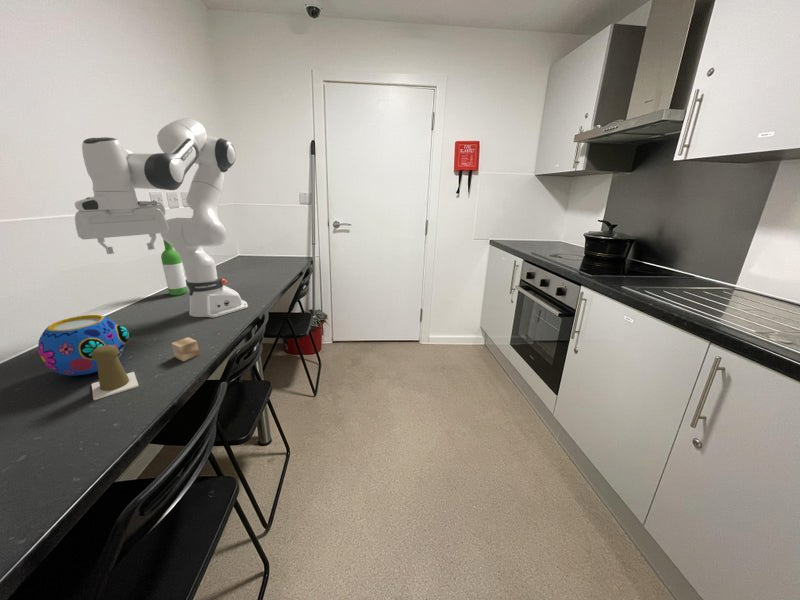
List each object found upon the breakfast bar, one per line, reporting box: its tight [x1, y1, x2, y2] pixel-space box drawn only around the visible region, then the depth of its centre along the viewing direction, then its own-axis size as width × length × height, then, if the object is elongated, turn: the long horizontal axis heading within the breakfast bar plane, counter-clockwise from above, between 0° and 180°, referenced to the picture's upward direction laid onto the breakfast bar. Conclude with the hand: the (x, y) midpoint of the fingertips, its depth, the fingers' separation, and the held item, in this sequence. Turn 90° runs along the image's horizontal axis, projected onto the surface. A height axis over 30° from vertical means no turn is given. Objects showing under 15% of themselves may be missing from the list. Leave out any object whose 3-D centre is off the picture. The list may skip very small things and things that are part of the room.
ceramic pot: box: [37, 314, 130, 376], centre depth 92 cm, size 18×18×15 cm
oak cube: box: [171, 336, 201, 362], centre depth 102 cm, size 5×5×5 cm
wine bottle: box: [160, 238, 188, 297], centre depth 156 cm, size 8×8×30 cm
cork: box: [92, 345, 129, 391], centre depth 85 cm, size 6×6×11 cm
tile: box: [91, 371, 140, 401], centre depth 87 cm, size 9×9×1 cm
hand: (131, 251), depth 95 cm, fingers open, 8 cm apart
